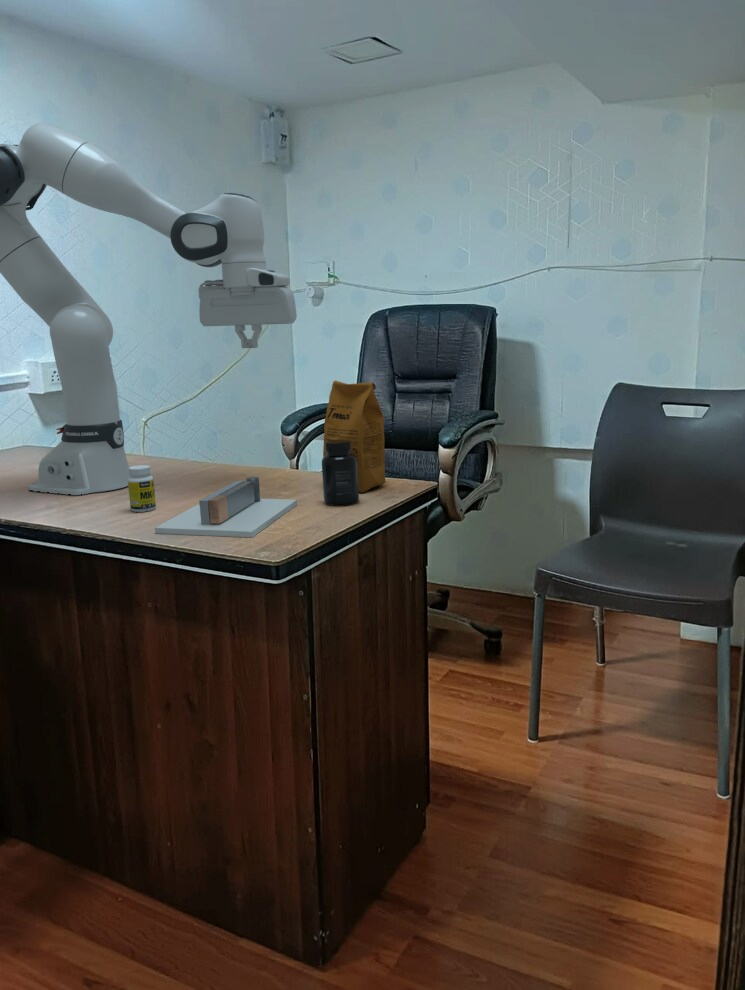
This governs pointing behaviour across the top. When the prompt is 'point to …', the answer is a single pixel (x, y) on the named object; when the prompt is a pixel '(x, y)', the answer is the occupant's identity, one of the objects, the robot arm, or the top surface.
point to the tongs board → (236, 525)
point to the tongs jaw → (231, 502)
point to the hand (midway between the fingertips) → (249, 348)
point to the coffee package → (358, 429)
